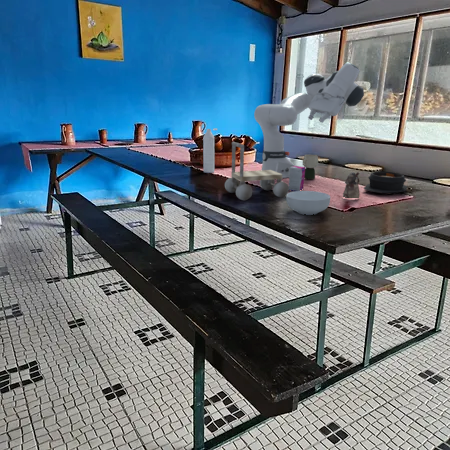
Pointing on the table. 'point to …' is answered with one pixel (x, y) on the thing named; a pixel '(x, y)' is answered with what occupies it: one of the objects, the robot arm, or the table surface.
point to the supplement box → (296, 178)
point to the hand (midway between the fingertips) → (314, 120)
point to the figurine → (352, 186)
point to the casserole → (386, 182)
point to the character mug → (310, 165)
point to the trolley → (253, 178)
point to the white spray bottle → (208, 151)
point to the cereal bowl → (308, 201)
